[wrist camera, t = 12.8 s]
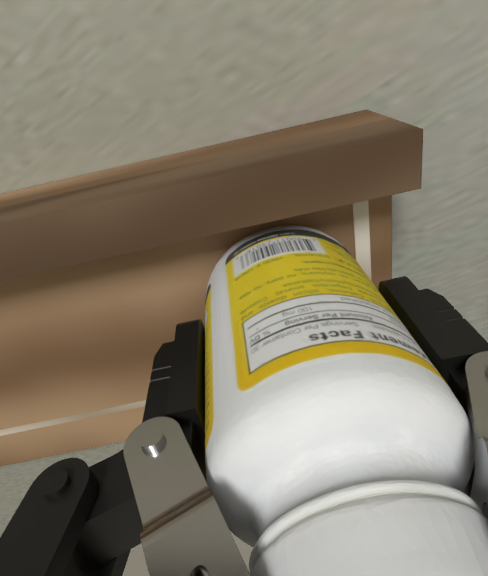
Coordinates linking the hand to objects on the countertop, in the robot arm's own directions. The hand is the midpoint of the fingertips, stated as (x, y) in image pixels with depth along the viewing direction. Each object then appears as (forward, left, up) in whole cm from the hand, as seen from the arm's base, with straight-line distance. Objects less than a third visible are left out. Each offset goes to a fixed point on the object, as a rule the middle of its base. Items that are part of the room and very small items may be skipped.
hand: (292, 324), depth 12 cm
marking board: (+1, -9, -4) cm, 10 cm away
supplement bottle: (0, 0, -2) cm, 2 cm away
